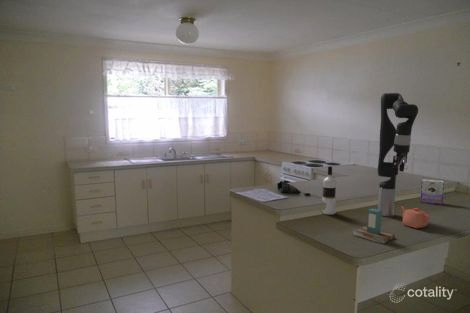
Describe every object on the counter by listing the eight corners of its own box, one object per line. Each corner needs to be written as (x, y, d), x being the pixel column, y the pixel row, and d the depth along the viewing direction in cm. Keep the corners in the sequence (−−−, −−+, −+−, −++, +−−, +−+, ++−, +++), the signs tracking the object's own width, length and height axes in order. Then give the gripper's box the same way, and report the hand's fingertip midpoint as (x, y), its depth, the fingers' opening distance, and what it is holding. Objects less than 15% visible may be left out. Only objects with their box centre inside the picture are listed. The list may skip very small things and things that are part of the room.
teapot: (422, 231, 185) (424, 213, 184) (392, 222, 200) (394, 205, 199) (435, 228, 190) (436, 210, 189) (405, 219, 206) (406, 202, 205)
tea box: (371, 230, 180) (372, 208, 179) (380, 232, 177) (381, 210, 175) (366, 232, 177) (367, 210, 175) (376, 235, 173) (377, 212, 172)
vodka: (334, 215, 213) (336, 168, 209) (319, 214, 217) (321, 167, 213) (336, 212, 221) (338, 166, 217) (322, 210, 225) (323, 165, 221)
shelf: (364, 229, 188) (365, 224, 187) (394, 237, 176) (394, 231, 175) (352, 235, 179) (353, 229, 178) (383, 243, 167) (383, 237, 167)
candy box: (442, 203, 245) (444, 180, 243) (442, 205, 240) (444, 182, 238) (420, 200, 252) (422, 178, 250) (420, 202, 247) (421, 179, 245)
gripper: (399, 140, 185) (396, 168, 189) (389, 143, 175) (385, 174, 179) (414, 142, 180) (410, 171, 184) (404, 146, 170) (400, 177, 174)
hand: (398, 173), depth 182 cm, fingers open, 8 cm apart
